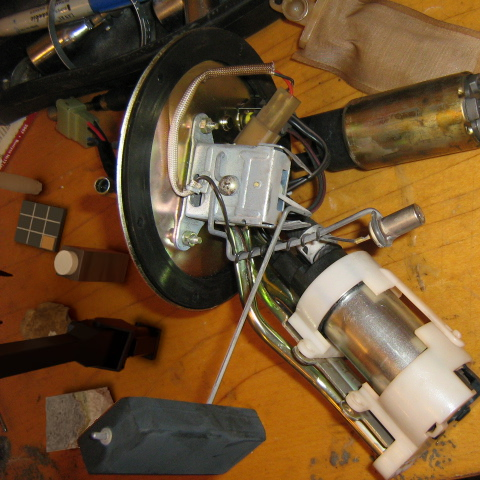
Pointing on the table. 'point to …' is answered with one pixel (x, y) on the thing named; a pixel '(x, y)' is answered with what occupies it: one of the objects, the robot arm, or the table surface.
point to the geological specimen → (73, 416)
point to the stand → (97, 265)
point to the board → (40, 225)
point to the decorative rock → (45, 321)
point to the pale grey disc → (66, 262)
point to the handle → (19, 183)
